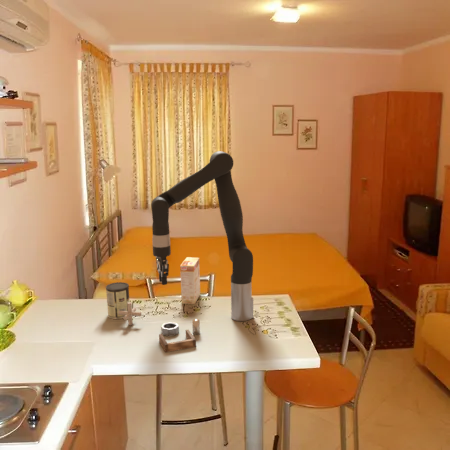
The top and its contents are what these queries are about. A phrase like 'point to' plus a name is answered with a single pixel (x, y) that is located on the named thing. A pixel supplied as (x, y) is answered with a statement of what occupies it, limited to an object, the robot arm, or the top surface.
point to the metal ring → (170, 329)
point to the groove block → (178, 343)
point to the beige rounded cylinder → (196, 326)
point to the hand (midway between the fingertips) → (163, 282)
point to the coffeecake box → (190, 280)
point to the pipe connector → (129, 313)
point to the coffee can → (117, 299)
